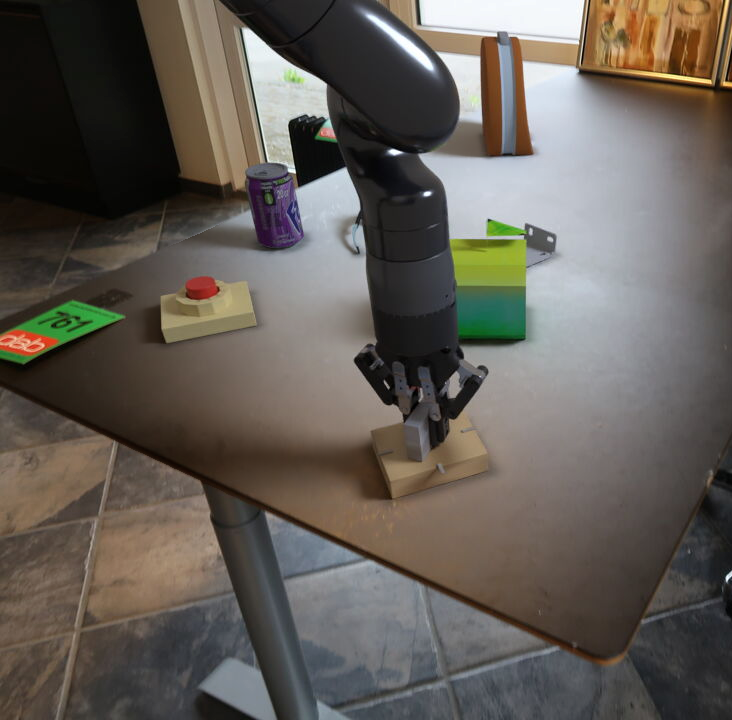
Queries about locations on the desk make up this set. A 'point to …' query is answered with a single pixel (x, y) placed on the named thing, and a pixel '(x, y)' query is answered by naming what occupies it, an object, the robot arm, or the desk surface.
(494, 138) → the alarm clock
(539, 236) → the bracket
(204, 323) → the box
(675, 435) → the desk surface
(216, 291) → the release button
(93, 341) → the desk surface
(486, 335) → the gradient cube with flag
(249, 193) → the beverage can
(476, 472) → the block
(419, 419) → the upright gray plate
